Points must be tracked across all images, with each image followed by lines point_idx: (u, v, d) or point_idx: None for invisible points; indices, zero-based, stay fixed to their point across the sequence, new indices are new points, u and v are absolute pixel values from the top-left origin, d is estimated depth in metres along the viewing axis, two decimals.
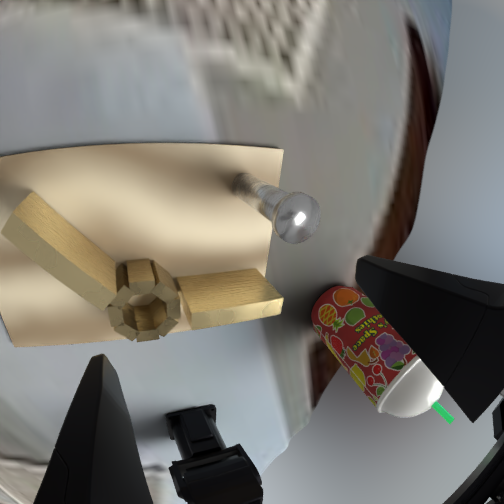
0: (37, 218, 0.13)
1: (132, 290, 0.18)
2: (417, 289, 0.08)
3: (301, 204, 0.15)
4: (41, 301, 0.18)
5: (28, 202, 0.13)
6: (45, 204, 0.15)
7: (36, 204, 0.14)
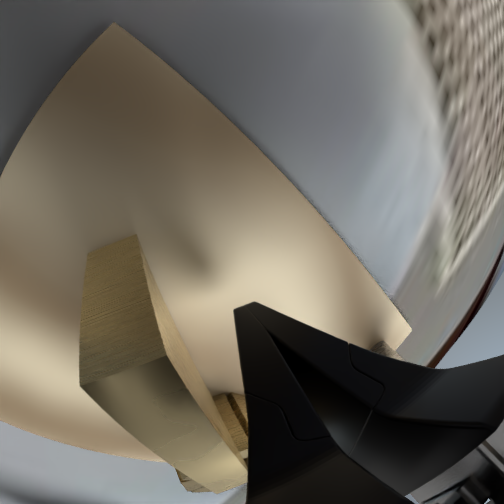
0: (175, 345, 0.06)
1: None
2: (293, 359, 0.06)
3: None
4: (50, 385, 0.08)
5: (149, 283, 0.06)
6: (154, 279, 0.08)
7: (153, 287, 0.07)
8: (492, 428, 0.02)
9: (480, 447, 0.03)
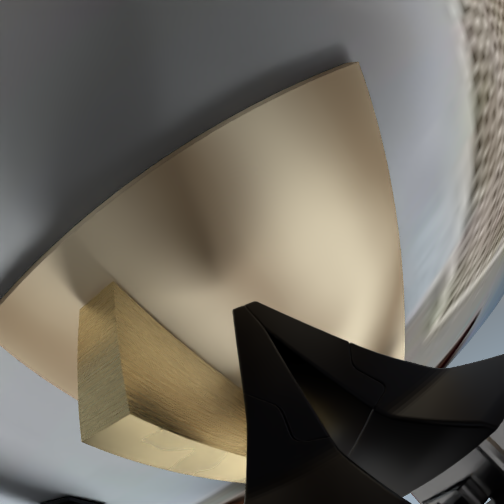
0: (162, 381, 0.06)
1: None
2: (294, 359, 0.06)
3: None
4: None
5: (126, 333, 0.06)
6: (143, 314, 0.08)
7: (136, 330, 0.07)
8: (493, 427, 0.02)
9: (481, 446, 0.03)
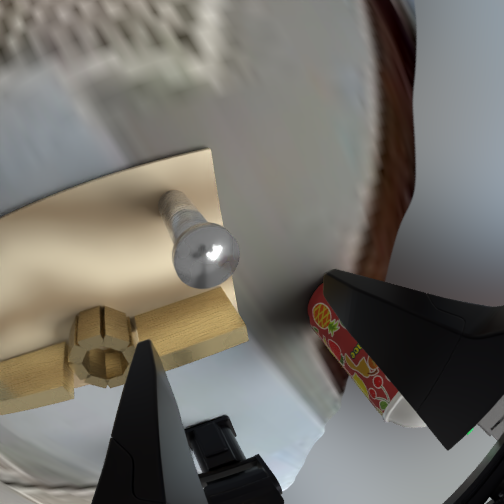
0: (2, 386, 0.14)
1: (83, 347, 0.16)
2: (384, 310, 0.07)
3: (202, 241, 0.12)
4: None
5: None
6: (6, 363, 0.16)
7: (0, 374, 0.15)
8: None
9: None
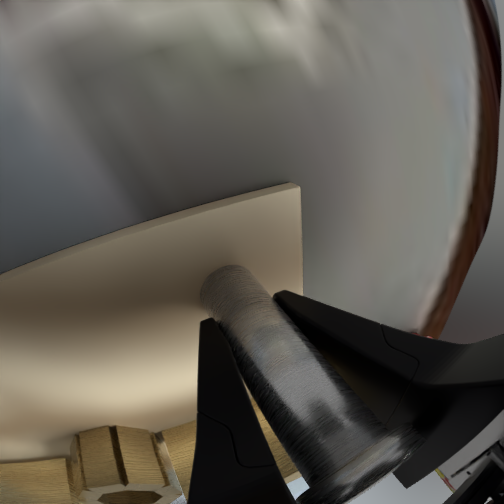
0: None
1: (97, 491, 0.08)
2: (329, 341, 0.07)
3: (380, 478, 0.03)
4: None
5: None
6: None
7: None
8: None
9: None
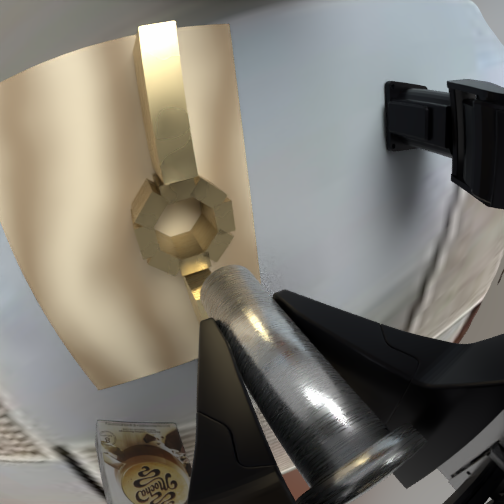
0: None
1: (153, 253, 0.14)
2: (329, 341, 0.07)
3: (380, 478, 0.03)
4: None
5: None
6: None
7: None
8: None
9: None
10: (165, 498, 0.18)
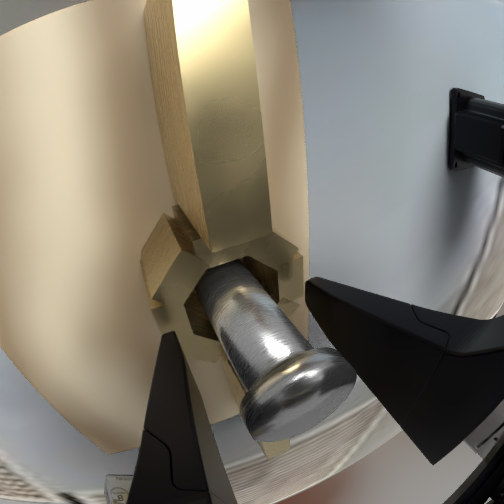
0: None
1: (182, 338, 0.09)
2: (365, 321, 0.07)
3: (306, 391, 0.05)
4: None
5: None
6: (235, 400, 0.16)
7: None
8: None
9: None
10: None
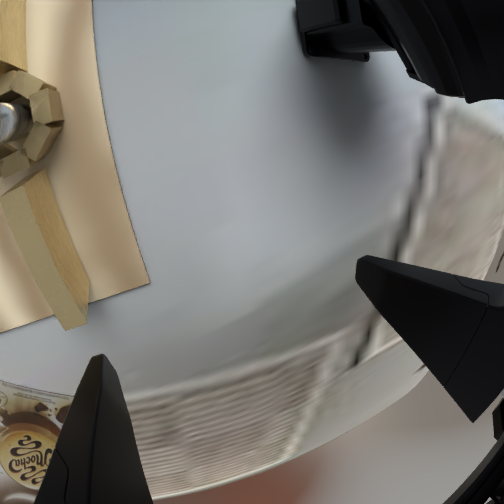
0: None
1: None
2: (417, 289, 0.08)
3: None
4: None
5: None
6: None
7: None
8: None
9: None
10: (38, 475, 0.12)
